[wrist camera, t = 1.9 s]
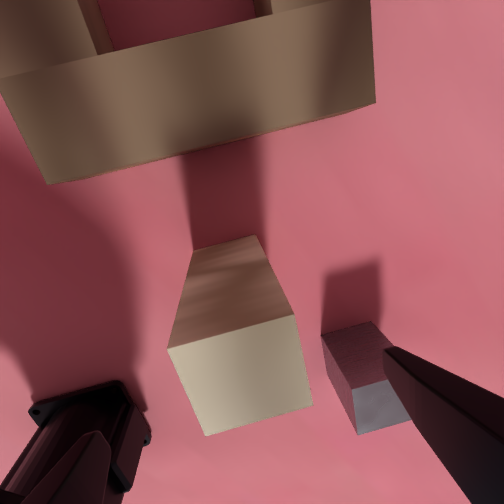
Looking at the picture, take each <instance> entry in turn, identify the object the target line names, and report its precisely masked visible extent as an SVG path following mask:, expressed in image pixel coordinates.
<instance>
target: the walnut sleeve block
mask: <svg viewBox="0 0 504 504" xmlns="http://www.w3.org/2000/svg"><path fill="white" fill-rule="evenodd" d="M253 2H254V8H255V13H256V18H255V19H251V20H246V21H242V22H238V23H234V24H229V25H225V26H221V27H217V28H212V29H208V30H204V31H200V32H195V33H191V34H187V35H183V36H178V37H174V38H170V39H166V40H161V41H157V42H153V43H149V44H144V45H140V46H136V47H132V48H127V49H123V50H119V51H114V48H113V45H112V43H111V40H110V37H109V34H108V31H107V28H106V26H105V23H104V20H103V17H102V14H101V11H100V8H99V6H98V3H97V0H0V93H1V95H2V97H3V99H4V101H5V103H6V105H7V107H8V109H9V111H10V113H11V115H12V117H13V119H14V121H15V123H16V125H17V127H18V129H19V131H20V133H21V134H22V136H23V138H24V140H25V142H26V144H27V146H28V148H29V150H30V152H31V154H32V156H33V158H34V160H35V162H36V164H37V166H38V168H39V170H40V172H41V174H42V176H43V178H44V180H45V182H46V184H47V185H50V184H57V183H63V182H69V181H76V180H82V179H86V178H90V177H94V176H98V175H102V174H106V173H110V172H114V171H118V170H122V169H126V168H130V167H134V166H138V165H142V164H146V163H150V162H154V161H158V160H162V159H166V158H170V157H174V156H178V155H182V154H186V153H190V152H194V151H198V150H202V149H206V148H210V147H214V146H217V145H221V144H225V143H229V142H233V141H237V140H241V139H245V138H249V137H253V136H257V135H261V134H265V133H269V132H273V131H277V130H281V129H285V128H289V127H293V126H297V125H301V124H305V123H309V122H313V121H317V120H321V119H325V118H329V117H333V116H337V115H341V114H345V113H348V112H351V111H354V110H357V109H360V108H363V107H365V106H368V105H371V104H374V103H376V96H375V78H374V60H373V41H372V23H371V5H370V0H253Z"/></svg>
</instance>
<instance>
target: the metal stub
mask: <svg viewBox="0 0 504 504" xmlns="http://www.w3.org/2000/svg"><path fill="white" fill-rule="evenodd" d="M321 341H322V346H323V352H324V358H325V364H326V369H327V375H328V377H329V379H330V381H331V383H332V385H333V387H334V389H335V391H336V393H337V395H338V397H339V399H340V401H341V403H342V405H343V407H344V409H345V411H346V413H347V415H348V417H349V419H350V421H351V423H352V425H353V427H354V429H355V431H356V433H357V435H361V434H364V433H368V432H371V431H375V430H378V429H382V428H385V427H388V426H392V425H395V424H399V423H402V422H406V421H409V420H412V419H411V418H410V416H409V414H408V413H407V411H406V409H405V408H404V406H403V404H402V403H401V401H400V399H399V398H398V396H397V394H396V393H395V391H394V389H393V388H392V386H391V384H390V383H389V381H388V379H387V377H386V376H385V374H384V371H383V362H382V350H383V349H384V348H388V347H391V346H394V345H393V344H392V343H391V342H390V341H389V340H388V339H387V338H386V337H385V336H384V334H383V333H382V332H381V331H380V330H379V329H378V328H377V327H376V326H375V325H374V324H373V323H372V322H371V321H370V322H366V323H363V324H359V325H356V326H352V327H349V328H345V329H341V330H338V331H334V332H331V333H327V334H324V335H321Z"/></svg>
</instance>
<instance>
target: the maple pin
mask: <svg viewBox="0 0 504 504" xmlns="http://www.w3.org/2000/svg"><path fill="white" fill-rule="evenodd" d="M167 351H168V353H169V355H170V358H171V360H172V362H173V364H174V367H175V369H176V371H177V373H178V376H179V378H180V380H181V382H182V385H183V387H184V389H185V391H186V394H187V396H188V398H189V400H190V403H191V405H192V407H193V409H194V412H195V414H196V416H197V418H198V421H199V423H200V425H201V427H202V430H203V432H204V434H205V436H209V435H212V434H216V433H219V432H223V431H226V430H230V429H233V428H237V427H240V426H244V425H247V424H251V423H254V422H258V421H261V420H265V419H268V418H271V417H275V416H278V415H282V414H285V413H289V412H292V411H296V410H299V409H303V408H306V407H310V406H313V401H312V396H311V392H310V387H309V382H308V377H307V372H306V368H305V363H304V358H303V353H302V348H301V344H300V339H299V334H298V329H297V324H296V319H295V315H294V312H293V310H292V308H291V306H290V304H289V302H288V300H287V298H286V296H285V294H284V292H283V290H282V288H281V286H280V284H279V282H278V279H277V277H276V275H275V273H274V271H273V269H272V267H271V265H270V263H269V261H268V259H267V257H266V255H265V253H264V251H263V249H262V247H261V245H260V243H259V241H258V238H257V236H256V234H254V235H251V236H247V237H243V238H239V239H235V240H232V241H228V242H224V243H220V244H216V245H213V246H209V247H205V248H201V249H197V250H194V251H193V254H192V257H191V261H190V265H189V269H188V272H187V276H186V280H185V283H184V287H183V291H182V295H181V298H180V302H179V306H178V309H177V313H176V317H175V320H174V324H173V328H172V332H171V335H170V339H169V343H168V346H167Z"/></svg>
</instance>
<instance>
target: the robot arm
mask: <svg viewBox="0 0 504 504" xmlns="http://www.w3.org/2000/svg"><path fill="white" fill-rule="evenodd" d="M382 362H383V371H384V374H385V376H386V377H387V379H388V381H389V383H390V384H391V386H392V388H393V389H394V391H395V393H396V394H397V396H398V398H399V399H400V401H401V403H402V404H403V406H404V408H405V409H406V411H407V413H408V414H409V416H410V418H411V419H412V421H413V423H414V424H415V426H416V427H417V429H418V430H419V432H420V433H421V435H422V436H423V437H424V439H425V440H426V441H427V443H428V444H429V446H430V447H431V448H432V450H433V451H434V452H435V454H436V455H437V457H438V458H439V459H440V461H441V462H442V463H443V465H444V466H445V468H446V469H447V470H448V472H449V473H450V475H451V476H452V477H453V479H454V480H455V481H456V483H457V484H458V486H459V487H460V488H461V490H462V491H463V492H464V494H465V495H466V497H467V498H468V499H469V501H470V502H471V504H504V398H503V397H501V396H498V395H496V394H494V393H492V392H490V391H488V390H486V389H484V388H482V387H480V386H478V385H476V384H474V383H472V382H470V381H468V380H465V379H463V378H461V377H459V376H457V375H455V374H453V373H451V372H449V371H447V370H445V369H443V368H441V367H439V366H437V365H434V364H432V363H430V362H428V361H426V360H424V359H422V358H420V357H418V356H416V355H414V354H412V353H410V352H408V351H406V350H403V349H401V348H399V347H397V346H391V347H388V348H384V349H383V350H382ZM115 388H117V389H115ZM28 413H29V415H30V416H31V417H32V419H33V420H34V421H35V423H36V424H37V425H38V426H39V428H38V429H37V431H36V432H35V434H34V435H33V437H32V438H31V440H30V441H29V443H28V444H27V446H26V447H25V449H24V450H23V452H22V453H21V455H20V456H19V458H18V459H17V461H16V462H15V464H14V465H13V467H12V468H11V470H10V471H9V473H8V474H7V476H6V477H5V479H4V480H3V482H2V483H1V485H0V504H121V503H122V500H123V496H124V493H125V492H129V491H130V489H131V488H132V486H133V482H134V478H135V475H136V471H137V467H138V463H139V459H140V456H141V452H142V448H143V447H144V446H147V445H149V444H150V441H151V437H152V436H151V433H150V432H149V430H148V427H147V425H146V423H145V421H144V419H143V417H142V416H141V414H140V412H139V410H138V408H137V407H136V405H135V404H134V403H133V401H132V399H131V397H130V396H129V394H128V392H127V390H126V388H125V387H124V385H123V383H122V382H120V381H111V382H108V383H104V384H100V385H97V386H93V387H89V388H86V389H82V390H79V391H75V392H71V393H68V394H64V395H61V396H57V397H53V398H50V399H46V400H43V401H39V402H36V403H34V404H33V405H32V406H31V408H30V409H29V410H28Z"/></svg>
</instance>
